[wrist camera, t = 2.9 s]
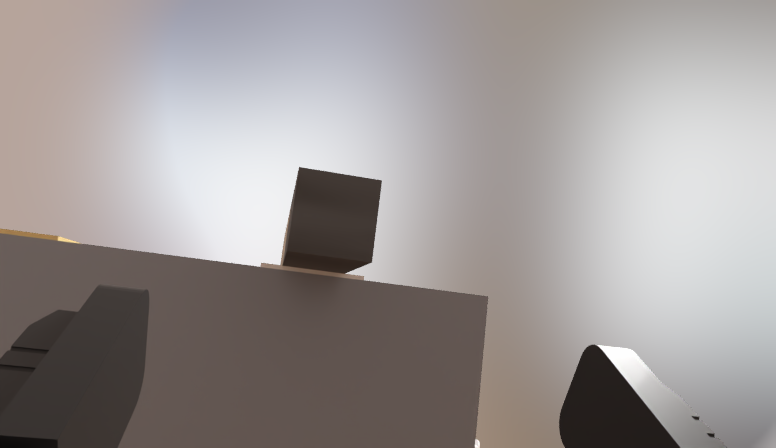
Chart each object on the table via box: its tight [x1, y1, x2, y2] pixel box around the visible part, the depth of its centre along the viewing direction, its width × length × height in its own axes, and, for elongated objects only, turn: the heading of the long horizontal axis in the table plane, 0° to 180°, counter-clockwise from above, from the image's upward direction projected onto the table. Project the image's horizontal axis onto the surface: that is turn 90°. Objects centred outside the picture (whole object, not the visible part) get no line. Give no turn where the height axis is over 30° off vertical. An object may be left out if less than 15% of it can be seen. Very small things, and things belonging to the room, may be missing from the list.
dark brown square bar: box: [281, 167, 382, 274], centre depth 31 cm, size 22×3×3 cm, turn 11°
